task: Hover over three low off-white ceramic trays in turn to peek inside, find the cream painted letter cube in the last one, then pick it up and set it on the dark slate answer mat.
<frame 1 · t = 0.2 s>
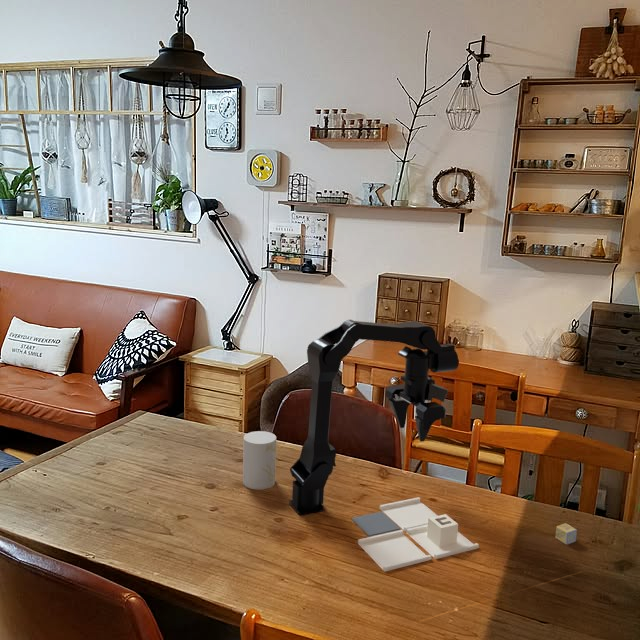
hand: (411, 434, 159), 14 cm above the table, tool pointing down, fingers open, 9 cm apart
tray a: (412, 515, 149), on the table
alphabet block: (565, 541, 141), on the table
letter cube: (441, 540, 139), resting on tray b
white cylinder: (258, 482, 162), on the table
tray c: (393, 552, 134), on the table
answer mat: (375, 524, 144), on the table
tray b: (441, 540, 139), on the table
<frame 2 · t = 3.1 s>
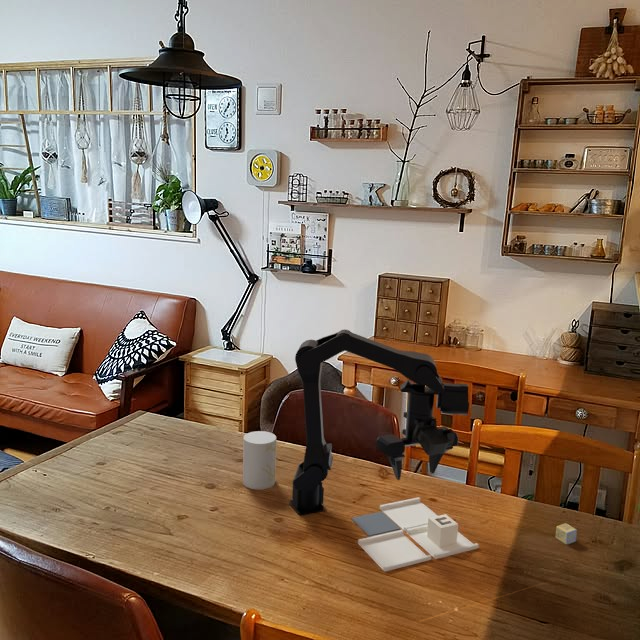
hand: (415, 476, 146), 10 cm above the table, tool pointing down, fingers open, 9 cm apart
nothing on the table moved.
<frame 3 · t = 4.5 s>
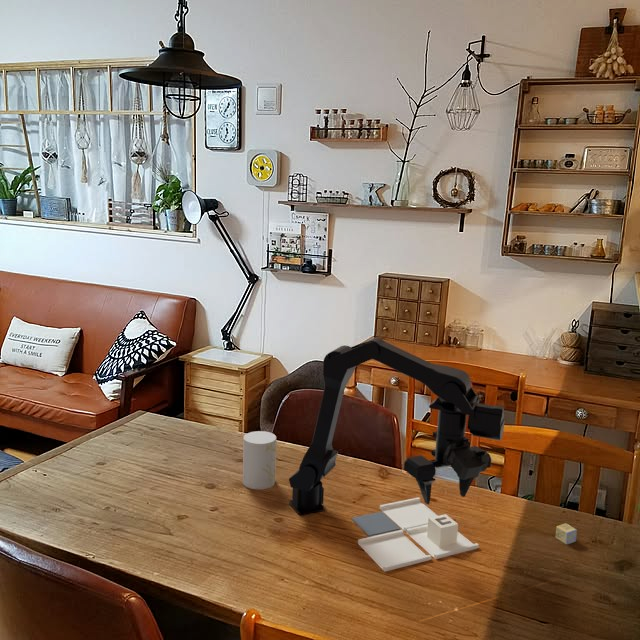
hand: (444, 499, 137), 10 cm above the table, tool pointing down, fingers open, 9 cm apart
nothing on the table moved.
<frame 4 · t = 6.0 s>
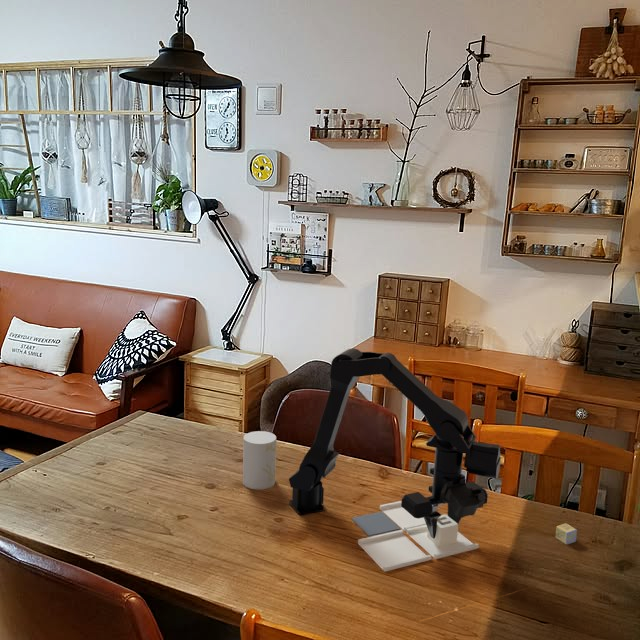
hand: (442, 535, 138), 1 cm above the table, tool pointing down, fingers closed on letter cube, 4 cm apart
letter cube: (441, 540, 139), resting on tray b, touching gripper
everything else where it was.
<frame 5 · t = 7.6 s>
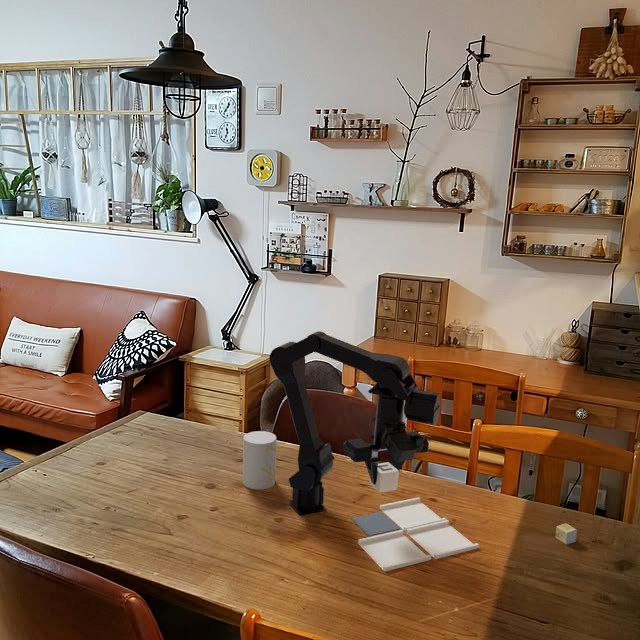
hand: (383, 482, 142), 11 cm above the table, tool pointing down, fingers closed on letter cube, 4 cm apart
letter cube: (383, 486, 142), point 9 cm above the table, touching gripper
everything else where it was.
when the fingers open (3 cm above the table, at t = 9.4 s): letter cube drops 1 cm, resting on answer mat.
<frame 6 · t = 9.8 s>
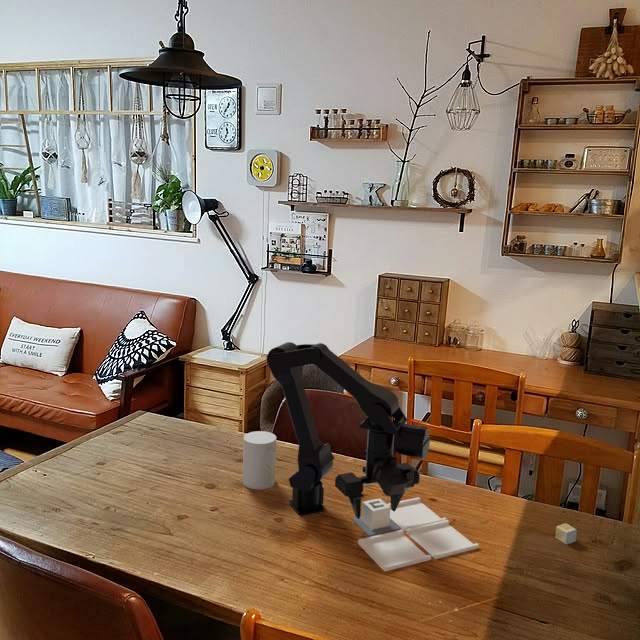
hand: (375, 514, 144), 3 cm above the table, tool pointing down, fingers open, 9 cm apart
letter cube: (375, 523, 144), resting on answer mat
everything else where it was.
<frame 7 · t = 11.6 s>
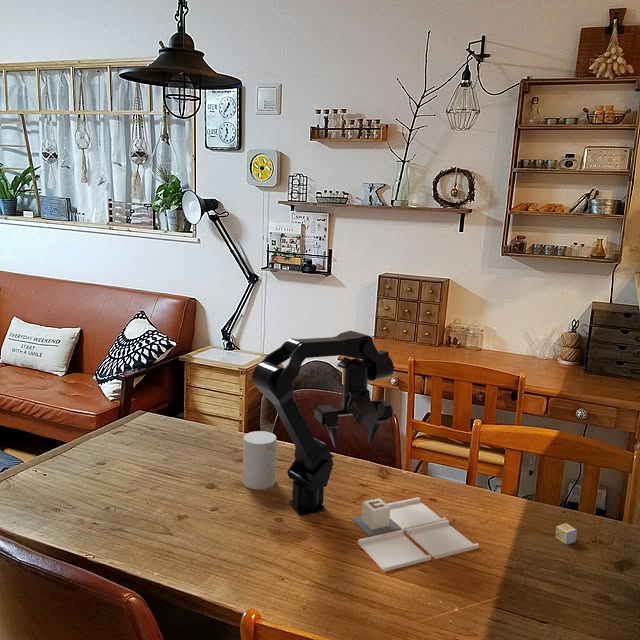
hand: (352, 444, 157), 12 cm above the table, tool pointing down, fingers open, 9 cm apart
nothing on the table moved.
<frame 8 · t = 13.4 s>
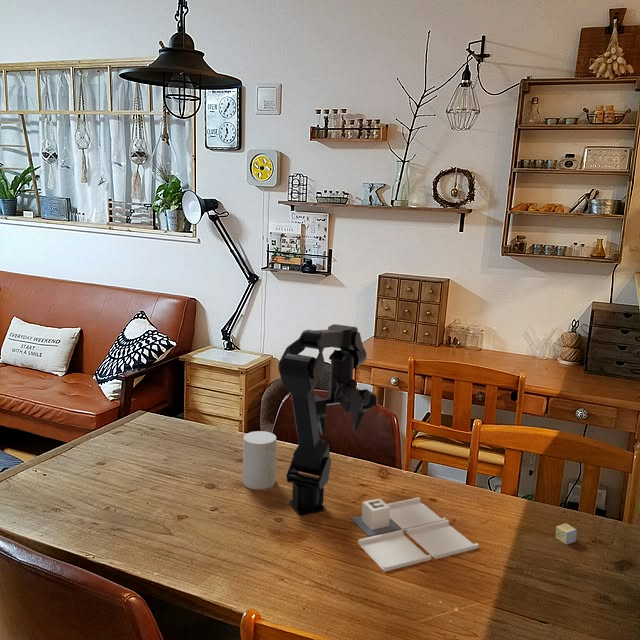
hand: (338, 432, 165), 12 cm above the table, tool pointing down, fingers open, 9 cm apart
nothing on the table moved.
at the end: letter cube inside the target area on the answer mat (0.0 cm from its centre), point 0.4 cm above the answer mat's base; the gripper is holding nothing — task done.
